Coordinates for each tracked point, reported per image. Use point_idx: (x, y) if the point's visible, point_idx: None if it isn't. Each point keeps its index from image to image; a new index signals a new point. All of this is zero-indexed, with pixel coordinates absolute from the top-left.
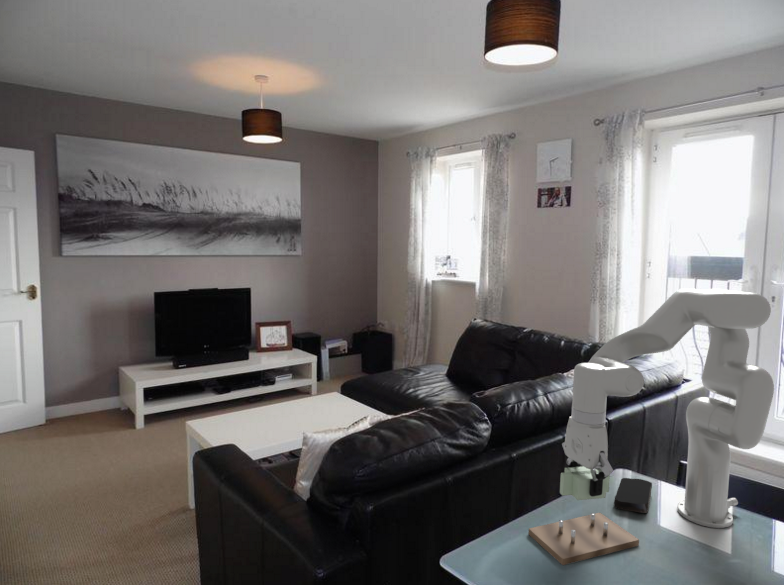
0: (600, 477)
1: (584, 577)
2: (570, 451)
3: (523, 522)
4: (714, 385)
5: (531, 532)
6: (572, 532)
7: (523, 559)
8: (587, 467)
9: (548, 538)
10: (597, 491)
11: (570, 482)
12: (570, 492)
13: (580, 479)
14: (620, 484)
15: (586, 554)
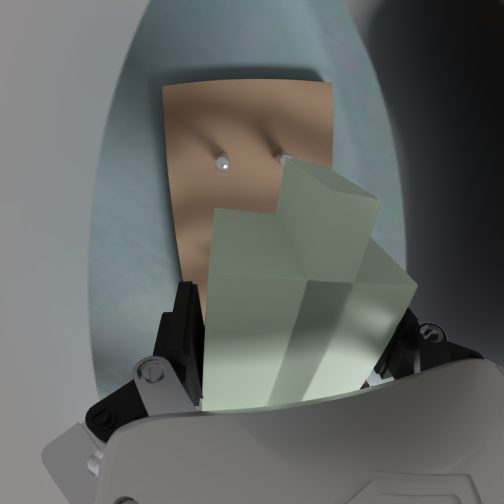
0: (114, 398)
1: (110, 118)
2: (460, 424)
3: (376, 112)
4: None
5: (316, 82)
6: (218, 158)
7: (225, 9)
8: (155, 422)
9: (267, 103)
10: (162, 322)
11: (295, 231)
12: (279, 209)
13: (212, 290)
14: (362, 388)
15: (168, 167)
